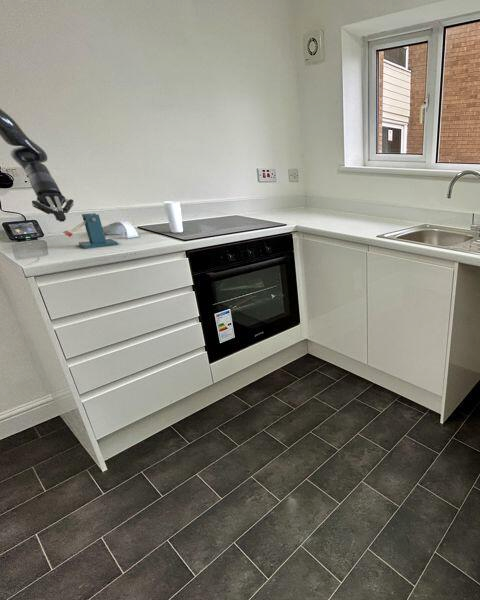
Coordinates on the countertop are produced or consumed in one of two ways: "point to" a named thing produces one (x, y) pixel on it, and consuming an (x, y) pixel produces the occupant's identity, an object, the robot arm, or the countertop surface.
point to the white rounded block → (120, 229)
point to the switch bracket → (95, 233)
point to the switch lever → (69, 233)
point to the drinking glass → (174, 216)
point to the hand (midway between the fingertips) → (62, 220)
